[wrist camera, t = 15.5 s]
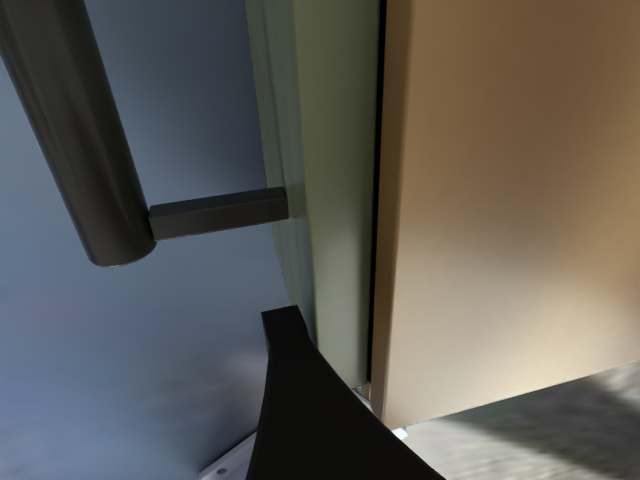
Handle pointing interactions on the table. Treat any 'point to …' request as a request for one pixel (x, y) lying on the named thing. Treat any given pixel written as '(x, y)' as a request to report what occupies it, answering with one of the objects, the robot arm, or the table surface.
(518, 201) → the cabinet
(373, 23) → the drawer
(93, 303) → the table surface
